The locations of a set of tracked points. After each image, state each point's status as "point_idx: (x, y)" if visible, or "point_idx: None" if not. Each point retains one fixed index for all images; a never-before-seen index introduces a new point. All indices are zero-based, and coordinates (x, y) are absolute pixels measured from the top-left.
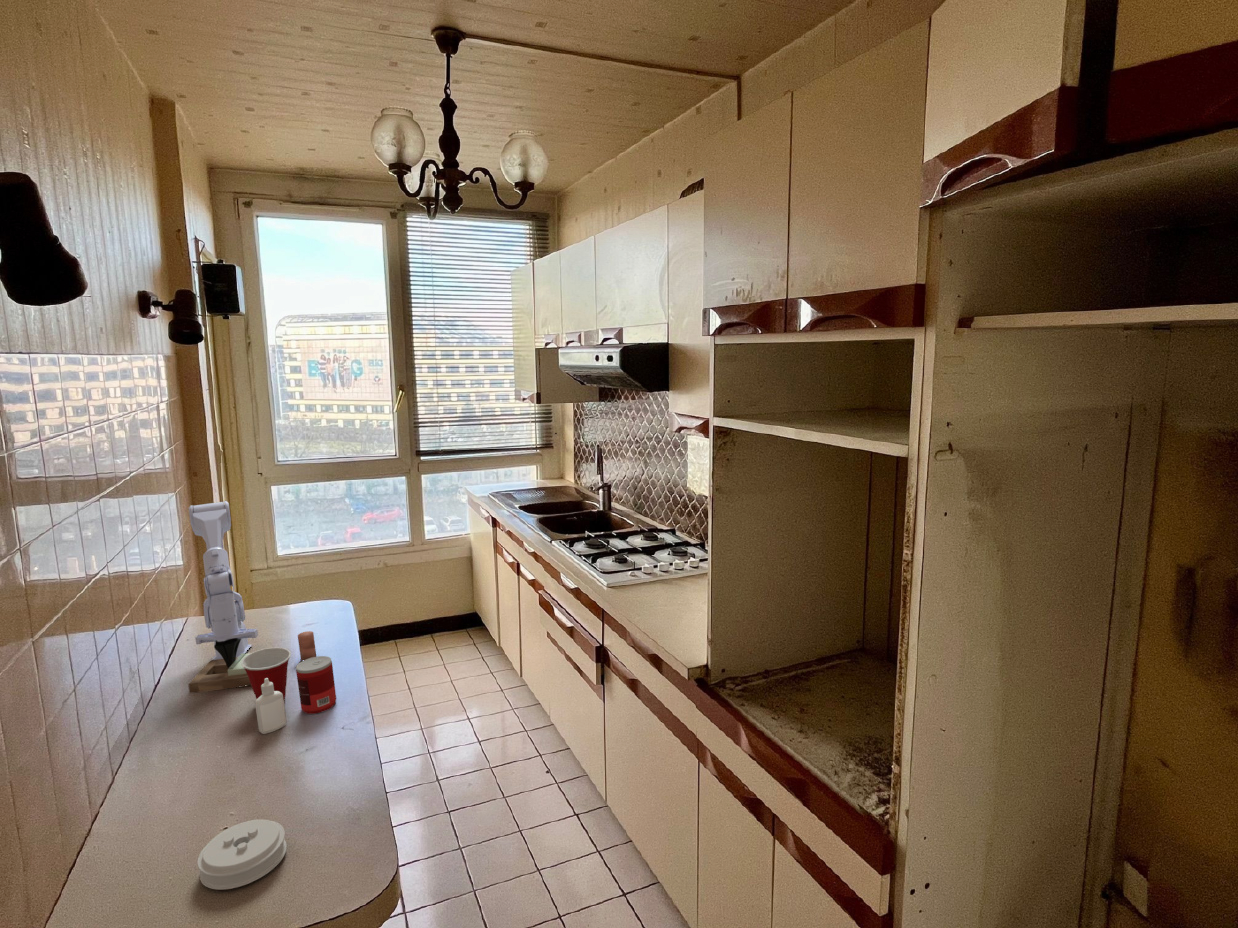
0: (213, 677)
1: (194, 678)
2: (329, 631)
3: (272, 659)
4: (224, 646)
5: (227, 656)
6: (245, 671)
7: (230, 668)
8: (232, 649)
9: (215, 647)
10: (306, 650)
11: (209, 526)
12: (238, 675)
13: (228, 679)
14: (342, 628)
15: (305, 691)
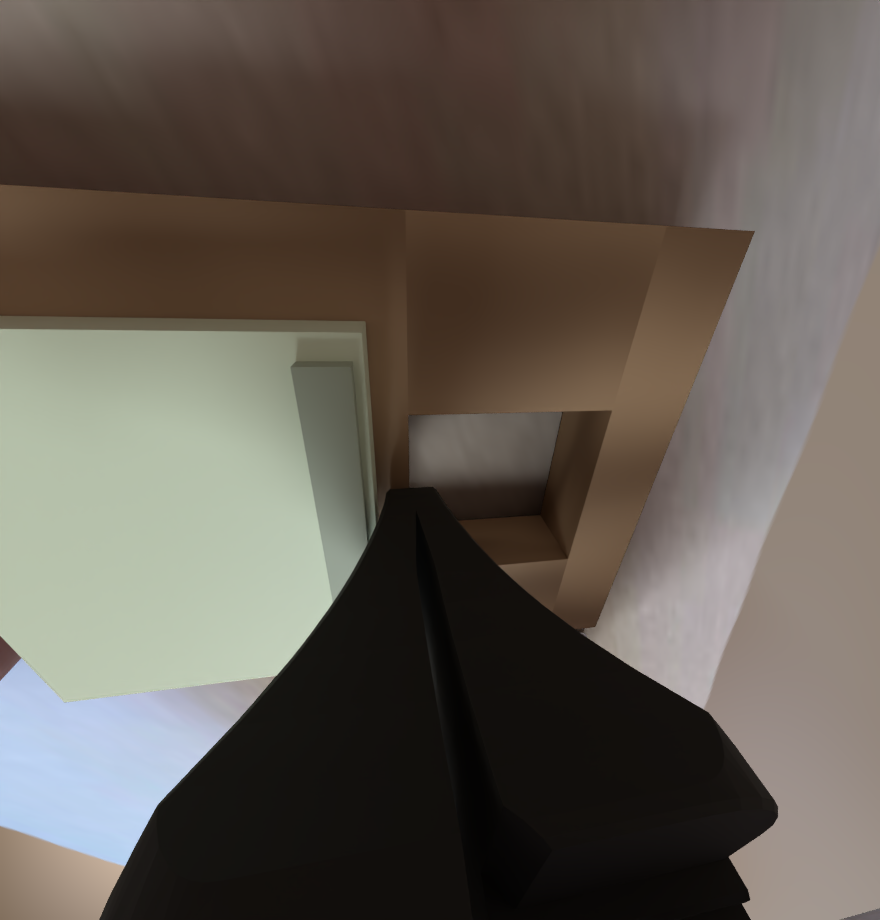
0: (523, 330)
1: (692, 364)
2: (122, 818)
3: None
4: (480, 789)
5: (433, 578)
6: (127, 322)
7: (330, 363)
8: (281, 688)
9: (726, 755)
10: None
11: None
12: (235, 299)
13: (318, 204)
14: (70, 836)
15: None
